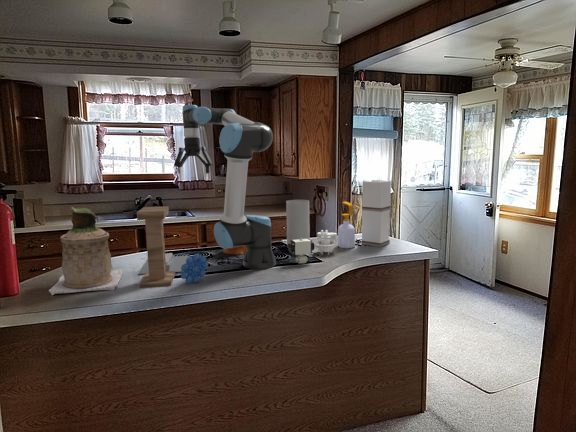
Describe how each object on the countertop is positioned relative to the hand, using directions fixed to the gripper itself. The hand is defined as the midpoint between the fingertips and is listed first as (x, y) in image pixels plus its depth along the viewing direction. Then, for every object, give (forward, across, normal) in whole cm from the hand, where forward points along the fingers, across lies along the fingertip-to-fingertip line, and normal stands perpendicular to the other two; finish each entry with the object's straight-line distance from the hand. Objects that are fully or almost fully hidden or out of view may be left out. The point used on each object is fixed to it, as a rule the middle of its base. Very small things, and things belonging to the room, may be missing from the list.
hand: (194, 180), depth 212 cm
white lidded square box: (+39, -87, -43) cm, 105 cm away
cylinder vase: (+39, -46, -29) cm, 67 cm away
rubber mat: (+38, +5, +22) cm, 45 cm away
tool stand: (+39, -5, +44) cm, 58 cm away
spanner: (+38, +5, +22) cm, 44 cm away
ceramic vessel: (+39, -18, -13) cm, 45 cm away
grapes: (+39, -21, +42) cm, 61 cm away
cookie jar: (+39, +21, +54) cm, 70 cm away
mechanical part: (+39, -64, -16) cm, 77 cm away
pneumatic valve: (+39, -56, +4) cm, 68 cm away
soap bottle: (+39, -72, -33) cm, 88 cm away
